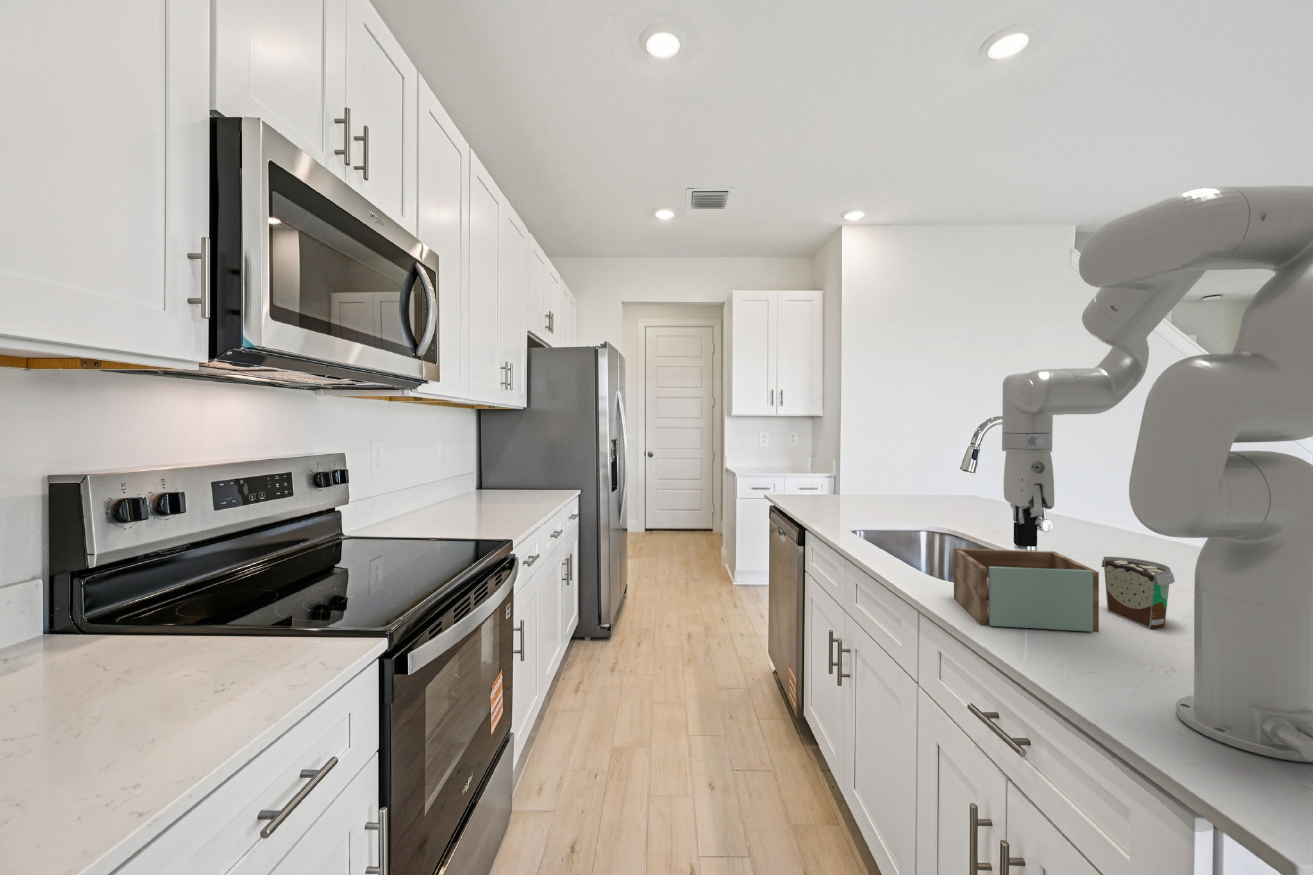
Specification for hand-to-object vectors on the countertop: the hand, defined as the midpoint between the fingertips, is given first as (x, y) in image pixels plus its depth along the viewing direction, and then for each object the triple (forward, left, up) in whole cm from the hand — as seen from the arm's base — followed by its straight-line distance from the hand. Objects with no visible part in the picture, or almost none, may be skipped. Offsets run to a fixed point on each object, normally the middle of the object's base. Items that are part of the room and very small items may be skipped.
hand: (1025, 545), depth 102 cm
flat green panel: (-6, 0, -13) cm, 14 cm away
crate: (+2, 0, -13) cm, 13 cm away
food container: (+3, -20, -14) cm, 24 cm away
